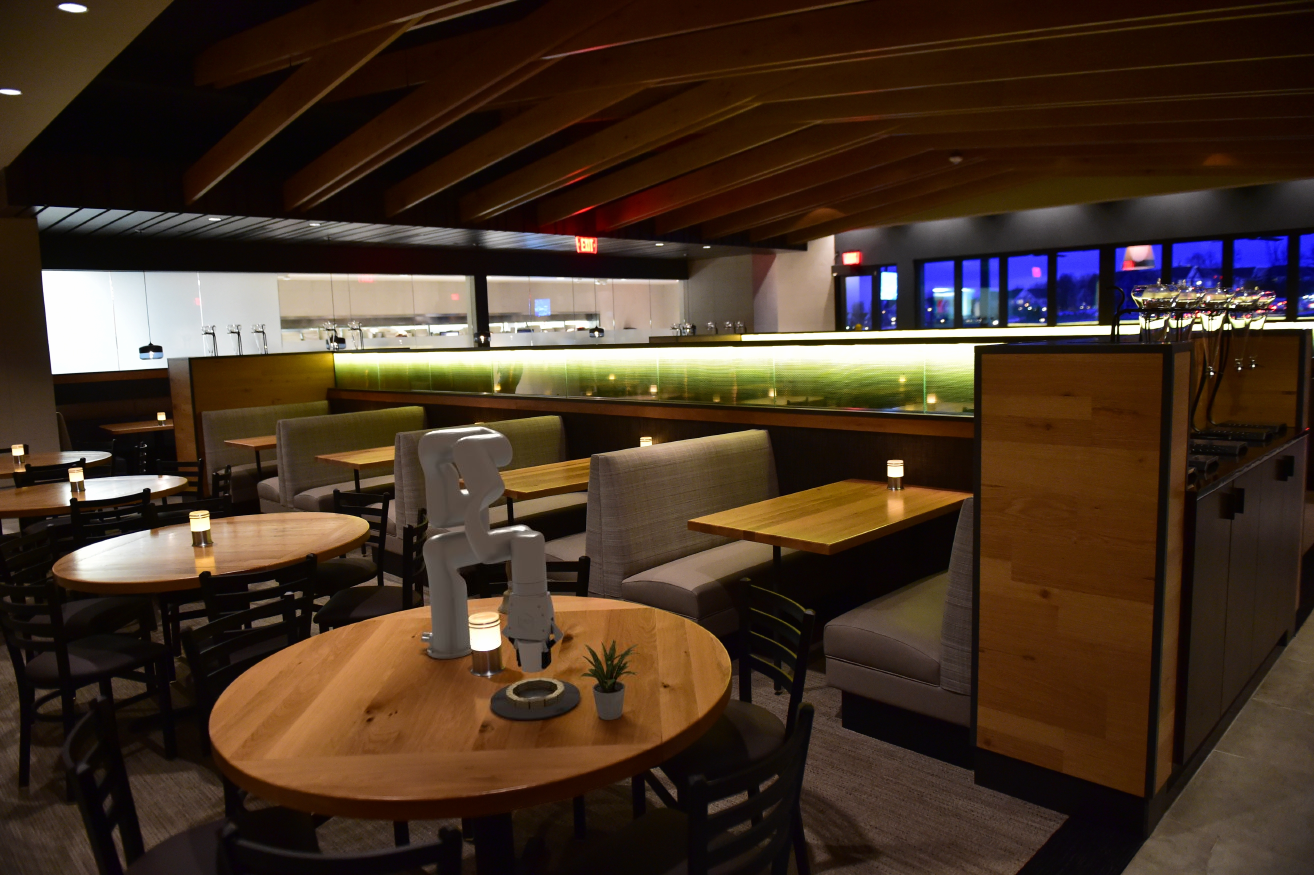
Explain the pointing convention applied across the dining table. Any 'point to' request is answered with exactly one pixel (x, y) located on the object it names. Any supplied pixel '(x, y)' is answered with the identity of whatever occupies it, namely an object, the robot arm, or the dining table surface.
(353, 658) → the dining table surface
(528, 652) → the gray tapered cylinder
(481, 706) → the dining table surface
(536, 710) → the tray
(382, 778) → the dining table surface
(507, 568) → the hand bell
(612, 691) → the house plant
